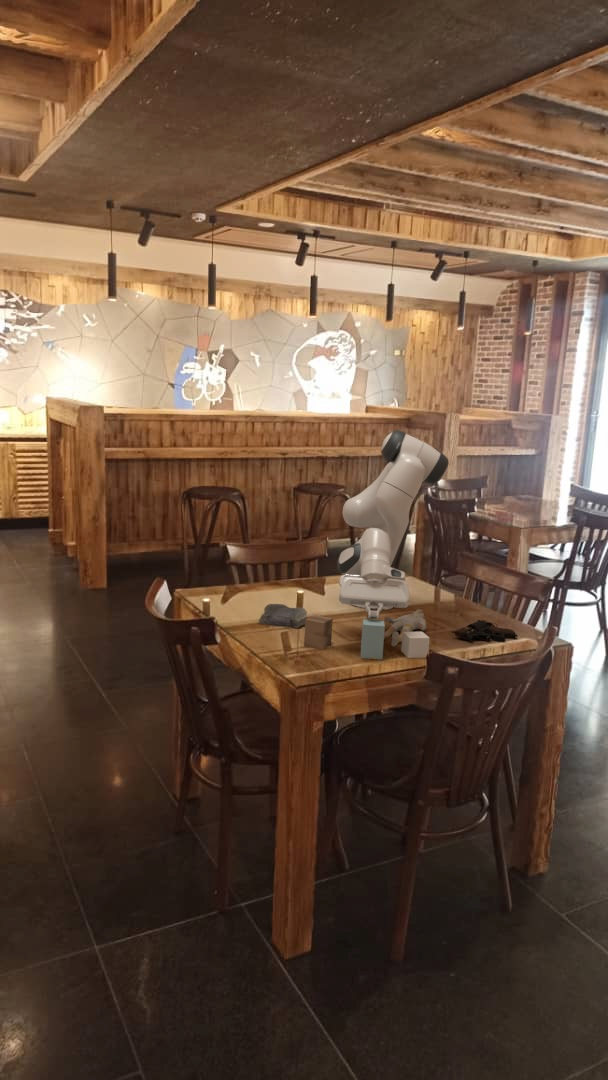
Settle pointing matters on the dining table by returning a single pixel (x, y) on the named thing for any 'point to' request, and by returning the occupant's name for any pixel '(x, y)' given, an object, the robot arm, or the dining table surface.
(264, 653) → the dining table surface
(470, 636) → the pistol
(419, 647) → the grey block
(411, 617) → the figurine
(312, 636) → the walnut block
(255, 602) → the dining table surface
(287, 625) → the fossil
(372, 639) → the teal block
